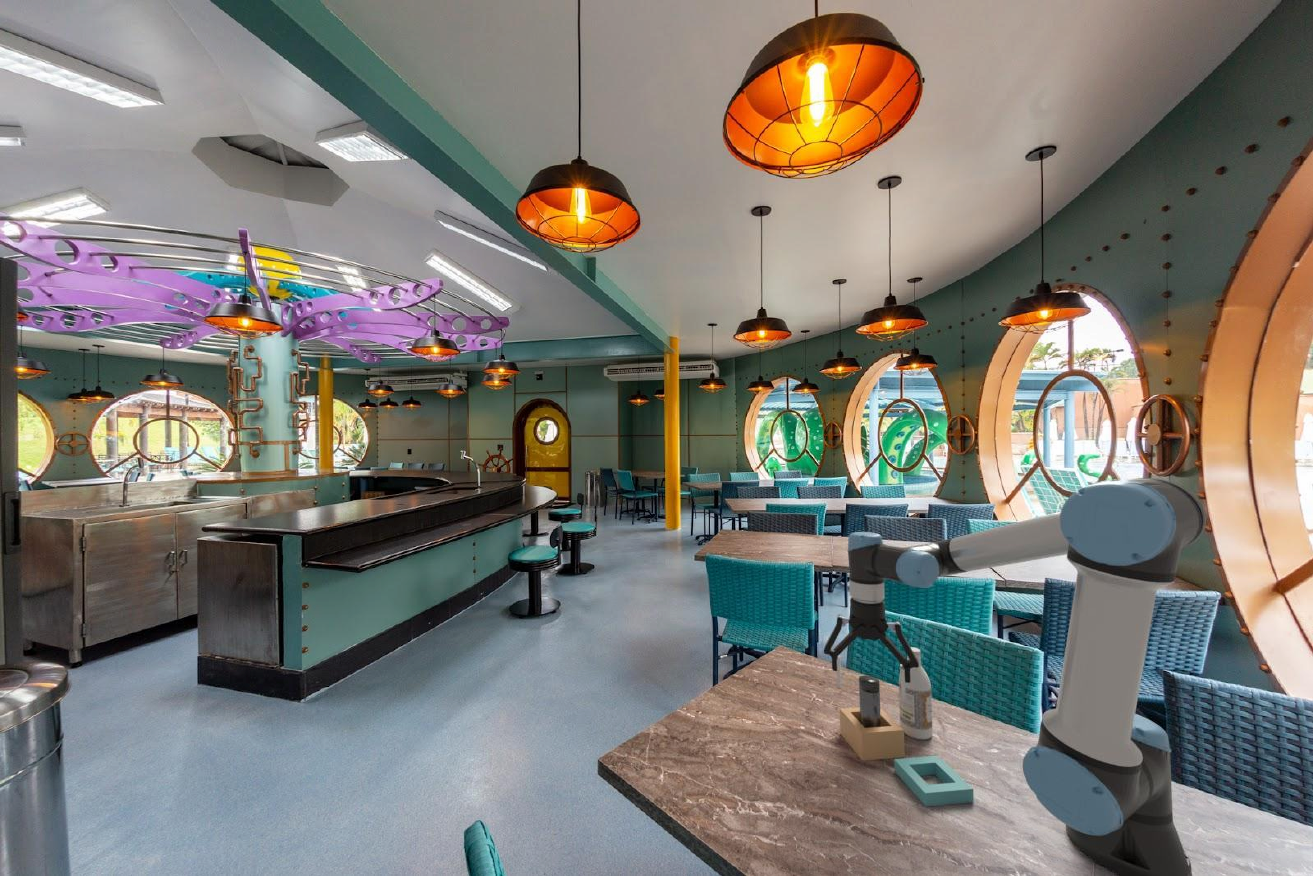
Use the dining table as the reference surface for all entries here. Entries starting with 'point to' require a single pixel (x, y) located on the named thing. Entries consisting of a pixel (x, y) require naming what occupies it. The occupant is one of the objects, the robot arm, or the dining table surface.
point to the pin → (869, 701)
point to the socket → (872, 736)
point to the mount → (936, 793)
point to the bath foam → (916, 703)
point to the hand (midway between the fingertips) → (870, 690)
